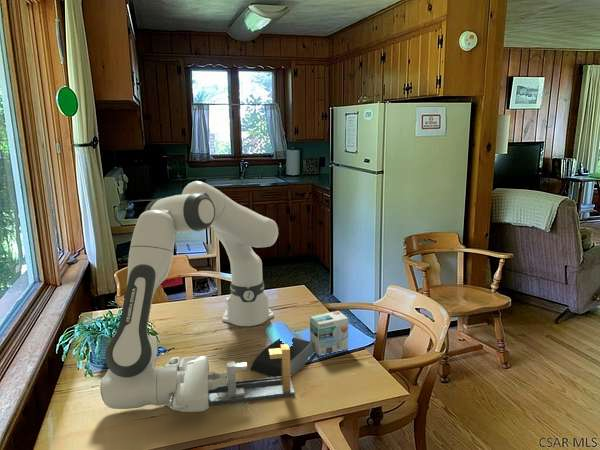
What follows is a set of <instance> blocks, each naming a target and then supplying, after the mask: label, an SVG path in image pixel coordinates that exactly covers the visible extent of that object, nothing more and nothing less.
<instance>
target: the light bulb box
mask: <svg viewBox="0 0 600 450" xmlns="http://www.w3.org/2000/svg"><path fill="white" fill-rule="evenodd" d="M309 318H310V319H309V326H310V327H309V342H313V345H314V349H315V352H316V353H317V354H318V355H321V354H327V353H331V352H335V351H339V350H344V349H348V350H349V323H350V321H349V320H350V319H349V318H348V316H346V315H345V314H344V313H342V312H341V311H339V310H336V311H331V312H326V313H321V314H316V315H312V316H311V315H310V317H309ZM316 353H315V354H316ZM317 354H316V355H317ZM318 355H317V356H318ZM327 355H328V354H327Z"/></svg>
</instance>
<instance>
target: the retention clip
mask: <svg viewBox="0 0 600 450" xmlns="http://www.w3.org/2000/svg"><path fill="white" fill-rule="evenodd" d="M247 364H248V363H247V361H243V362H235V361H226V374H227V382H228V398H231V397H239V396H244V388H238V389H236V381H237V380H236V377H237V376H236V371H239V370H247V369H248V365H247Z"/></svg>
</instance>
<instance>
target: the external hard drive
mask: <svg viewBox="0 0 600 450" xmlns="http://www.w3.org/2000/svg"><path fill="white" fill-rule="evenodd" d="M292 342H293V344H292V345H293V346H291V347H289V348H290V377H292V376H293V375H294V374H295V373H297V372H298V371H299V370H300V369H301V368H303V367H304V366H305V365H306V364H307V363H306V361H307V359H308V357H310V356H311V355H312V354H313V353H314V352H315V349H314V345H313V342H310V340H305V339H301V338H297V337H293V339H292ZM281 344H284V343H282V341H280V338H279V339H277V340H275V341H274V342H272V343H270V344H269V345H267V346H266V347H265V348H264V349H263V350H261V352H260V353H259V354H258V355H257V356H256V357H255V358H254V360H253V362H252V365H251V366H250V371H251V372H254V373H258V374H260V375H261V374H262V375H264V376H268V377H278V376H281V358H276V359H270V356H269V349H276V348H281V347H280V345H281ZM305 363H306V364H305Z"/></svg>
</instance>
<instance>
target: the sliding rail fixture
mask: <svg viewBox="0 0 600 450" xmlns="http://www.w3.org/2000/svg"><path fill="white" fill-rule="evenodd" d="M280 347H281V348H276V349H269V356H270V359H276V358H281V376H278V377H270V376H268V377H264V378H253V379H252V378H251V379H244V380H236V389H238V388H244V396H239V397H231V398H228V381H227V385H223V386H219V387H218V388H216V389H214V390H209V402H208V408H210V407H217V406H225V405H233V404H240V403H249V402H251V403H252V402H258V401H266V400H267V401H268V400H273V399H274V400H276V399H282V398H290V397H291V398H292V397H295V395H296V392H295V389H294V385H293V382H292V380H291V376H290V348H289V345H288V344H281V345H280Z"/></svg>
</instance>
